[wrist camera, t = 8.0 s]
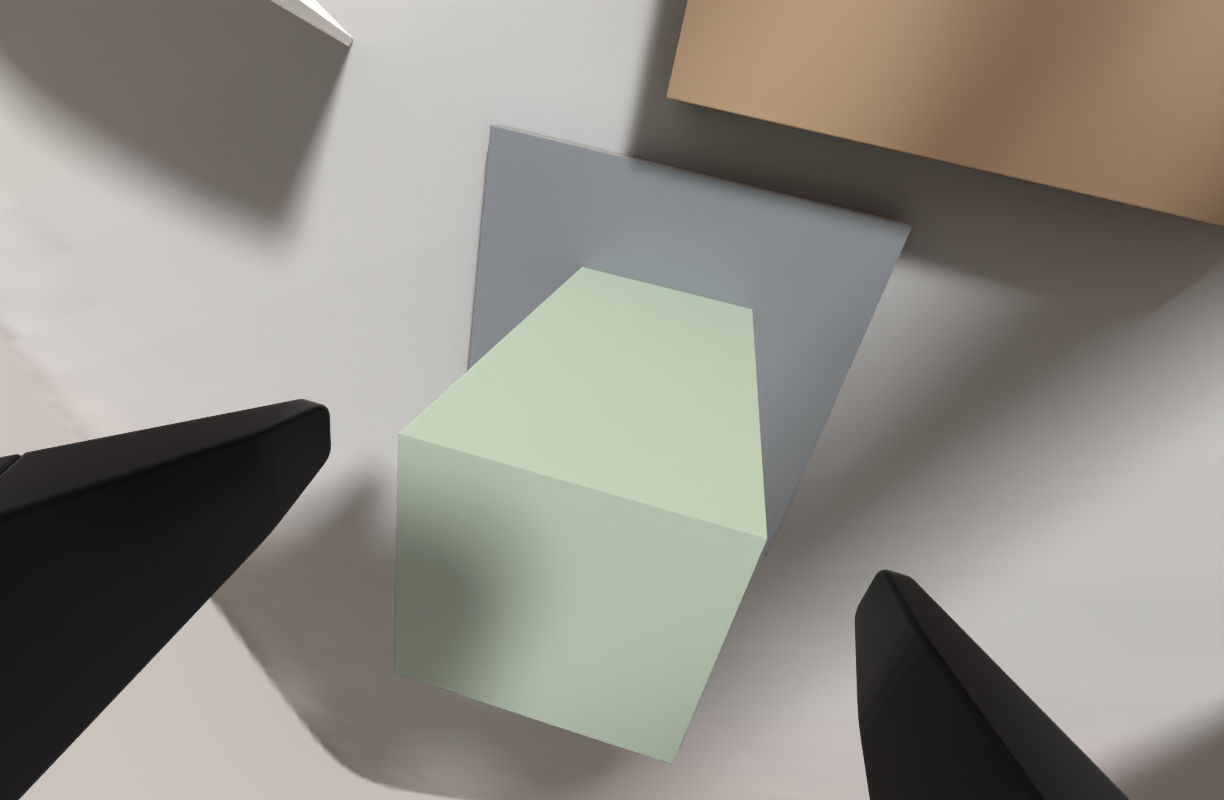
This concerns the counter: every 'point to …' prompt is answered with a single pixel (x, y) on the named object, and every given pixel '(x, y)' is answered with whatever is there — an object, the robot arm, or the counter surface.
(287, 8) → the toilet paper
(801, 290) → the coaster
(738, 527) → the green block
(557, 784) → the counter surface
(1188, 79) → the pocket block
